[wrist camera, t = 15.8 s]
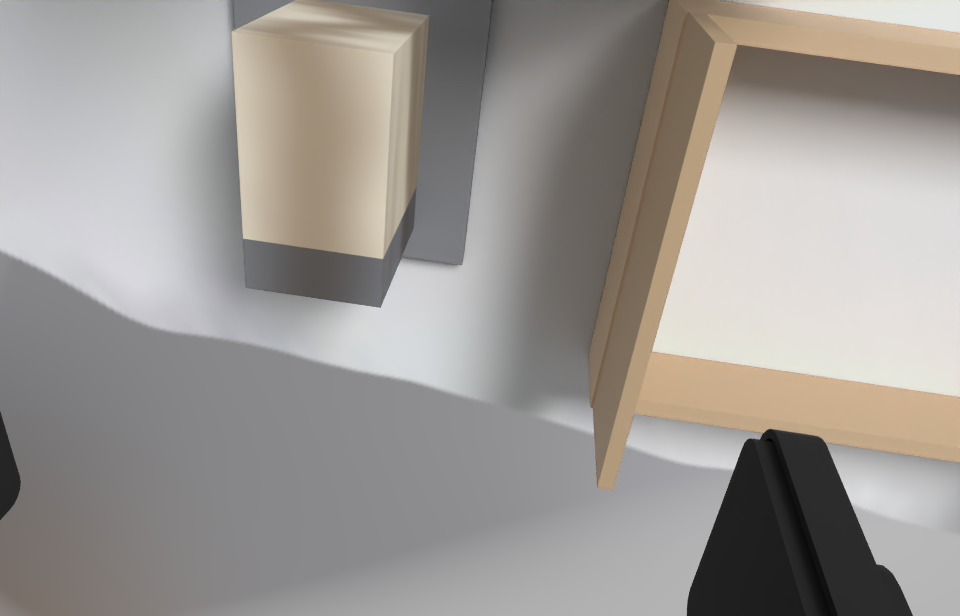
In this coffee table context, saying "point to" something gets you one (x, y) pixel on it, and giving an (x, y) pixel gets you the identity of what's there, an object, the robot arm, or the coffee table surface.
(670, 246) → the carton
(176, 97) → the coffee table surface
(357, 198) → the block
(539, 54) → the coffee table surface
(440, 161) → the grey mat
